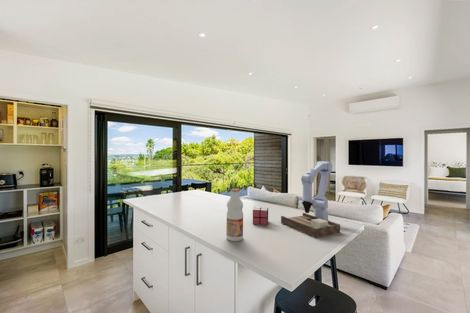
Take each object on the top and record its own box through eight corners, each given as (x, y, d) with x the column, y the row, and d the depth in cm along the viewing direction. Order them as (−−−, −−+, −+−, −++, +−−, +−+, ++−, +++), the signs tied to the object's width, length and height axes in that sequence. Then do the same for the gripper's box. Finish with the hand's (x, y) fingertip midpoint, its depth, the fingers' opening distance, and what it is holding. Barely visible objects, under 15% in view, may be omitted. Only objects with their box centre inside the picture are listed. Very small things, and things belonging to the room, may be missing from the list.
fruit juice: (224, 236, 130) (225, 188, 130) (240, 235, 132) (241, 187, 132) (228, 242, 121) (228, 190, 120) (244, 241, 123) (245, 190, 123)
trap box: (303, 219, 166) (303, 212, 166) (339, 232, 138) (340, 224, 138) (281, 223, 156) (281, 215, 156) (315, 237, 128) (315, 229, 128)
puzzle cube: (267, 225, 151) (267, 210, 151) (252, 224, 153) (252, 209, 153) (268, 221, 161) (268, 207, 161) (254, 220, 163) (254, 206, 163)
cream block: (319, 224, 144) (319, 218, 144) (327, 227, 137) (328, 221, 137) (311, 226, 141) (311, 219, 141) (319, 229, 134) (319, 222, 134)
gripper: (295, 191, 153) (295, 210, 153) (311, 194, 140) (310, 216, 140) (303, 190, 156) (302, 209, 156) (319, 193, 143) (319, 214, 143)
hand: (307, 212), depth 148 cm, fingers closed
